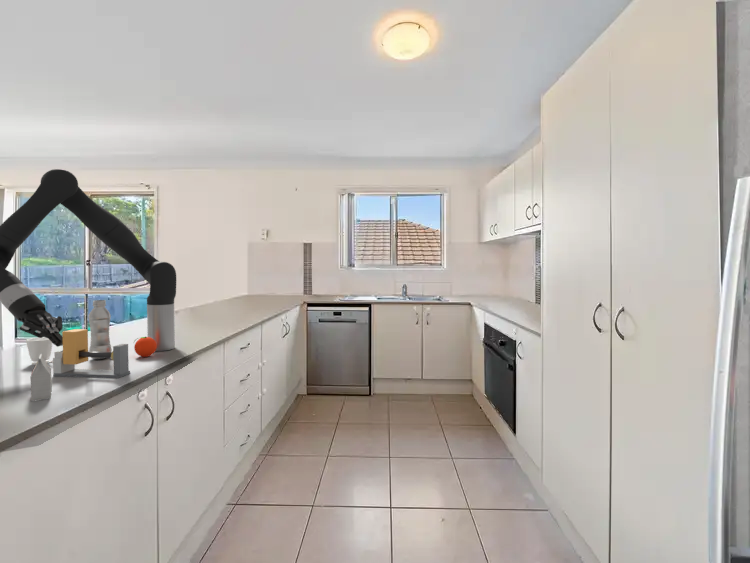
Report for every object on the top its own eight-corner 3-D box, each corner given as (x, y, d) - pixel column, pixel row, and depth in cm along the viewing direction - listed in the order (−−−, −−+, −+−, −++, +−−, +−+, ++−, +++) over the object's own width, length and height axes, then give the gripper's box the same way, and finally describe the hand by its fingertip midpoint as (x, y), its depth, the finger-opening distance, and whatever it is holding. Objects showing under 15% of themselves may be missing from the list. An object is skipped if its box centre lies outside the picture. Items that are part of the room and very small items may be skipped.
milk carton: (51, 391, 107) (50, 352, 106) (50, 398, 102) (49, 358, 101) (33, 393, 105) (32, 354, 104) (31, 401, 99) (29, 360, 99)
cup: (28, 362, 137) (28, 337, 136) (66, 358, 142) (65, 335, 141) (24, 366, 130) (23, 341, 130) (63, 363, 136) (63, 338, 135)
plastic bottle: (93, 362, 137) (92, 301, 136) (86, 359, 141) (84, 300, 140) (115, 358, 142) (114, 300, 141) (107, 355, 147) (105, 299, 146)
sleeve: (63, 364, 121) (62, 331, 120) (75, 360, 125) (75, 329, 125) (76, 364, 120) (75, 331, 120) (88, 360, 125) (87, 329, 124)
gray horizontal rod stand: (53, 375, 121) (52, 345, 120) (67, 371, 126) (66, 341, 125) (118, 377, 119) (118, 347, 119) (130, 373, 124) (129, 343, 124)
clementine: (127, 358, 143) (126, 338, 142) (139, 354, 150) (138, 334, 149) (149, 359, 142) (149, 338, 142) (161, 354, 149) (160, 334, 149)
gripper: (8, 295, 116) (51, 339, 116) (49, 291, 129) (87, 331, 129) (-9, 314, 117) (33, 358, 117) (33, 308, 130) (71, 348, 130)
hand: (61, 344), depth 123 cm, fingers closed
